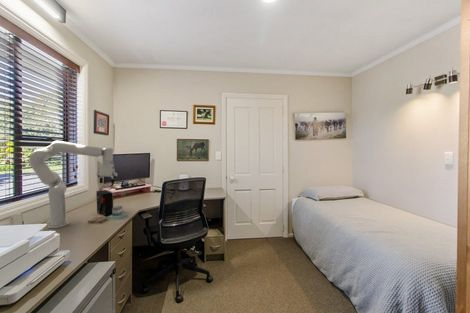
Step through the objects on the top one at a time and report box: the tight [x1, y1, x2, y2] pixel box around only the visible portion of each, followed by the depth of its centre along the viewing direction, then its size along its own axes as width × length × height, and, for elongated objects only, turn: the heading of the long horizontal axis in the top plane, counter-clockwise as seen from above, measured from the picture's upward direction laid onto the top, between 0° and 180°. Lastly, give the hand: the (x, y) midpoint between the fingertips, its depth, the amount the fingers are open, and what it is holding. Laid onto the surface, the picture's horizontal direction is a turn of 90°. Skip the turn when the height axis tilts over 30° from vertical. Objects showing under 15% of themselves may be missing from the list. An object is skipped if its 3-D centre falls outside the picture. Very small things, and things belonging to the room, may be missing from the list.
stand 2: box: [107, 212, 127, 220], centre depth 197 cm, size 10×10×2 cm
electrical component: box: [96, 189, 115, 217], centre depth 206 cm, size 18×10×20 cm, turn 47°
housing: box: [112, 205, 123, 216], centre depth 197 cm, size 7×5×7 cm
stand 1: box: [87, 216, 109, 224], centre depth 187 cm, size 10×10×2 cm
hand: (106, 183), depth 191 cm, fingers open, 9 cm apart
